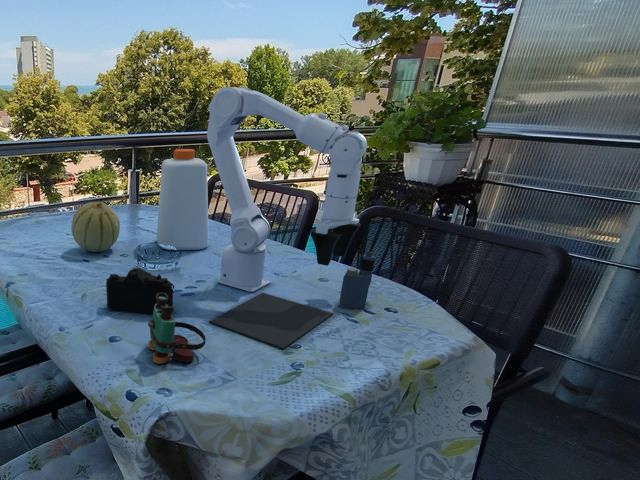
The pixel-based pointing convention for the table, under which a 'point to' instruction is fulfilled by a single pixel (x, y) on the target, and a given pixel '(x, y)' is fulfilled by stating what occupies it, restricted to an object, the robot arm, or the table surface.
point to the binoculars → (170, 334)
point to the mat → (272, 320)
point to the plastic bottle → (183, 202)
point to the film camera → (136, 291)
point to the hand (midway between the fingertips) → (331, 260)
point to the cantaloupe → (95, 227)
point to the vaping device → (357, 283)
